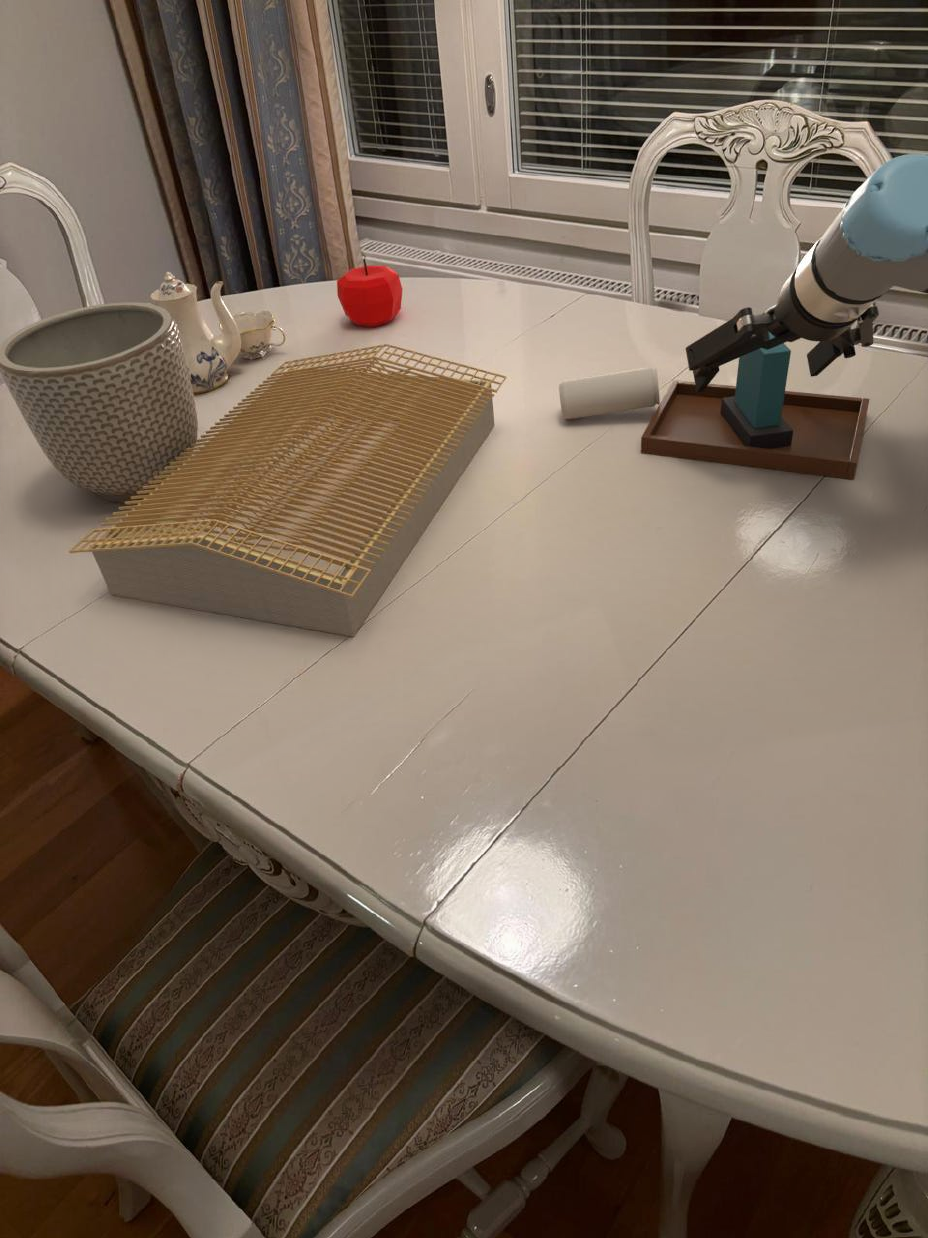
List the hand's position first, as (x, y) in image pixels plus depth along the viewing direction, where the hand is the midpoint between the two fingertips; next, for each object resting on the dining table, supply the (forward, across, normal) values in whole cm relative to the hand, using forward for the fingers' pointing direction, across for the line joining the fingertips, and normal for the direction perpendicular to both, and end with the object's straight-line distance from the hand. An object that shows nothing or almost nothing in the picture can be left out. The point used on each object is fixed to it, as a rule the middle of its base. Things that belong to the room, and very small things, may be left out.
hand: (754, 373), depth 103 cm
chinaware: (+32, -72, +22) cm, 81 cm away
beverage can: (+9, -22, +3) cm, 24 cm away
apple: (+41, -44, +31) cm, 68 cm away
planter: (+9, -75, 0) cm, 76 cm away
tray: (+3, 0, -6) cm, 7 cm away
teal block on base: (+3, 0, -6) cm, 6 cm away
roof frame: (+2, -52, -8) cm, 53 cm away
